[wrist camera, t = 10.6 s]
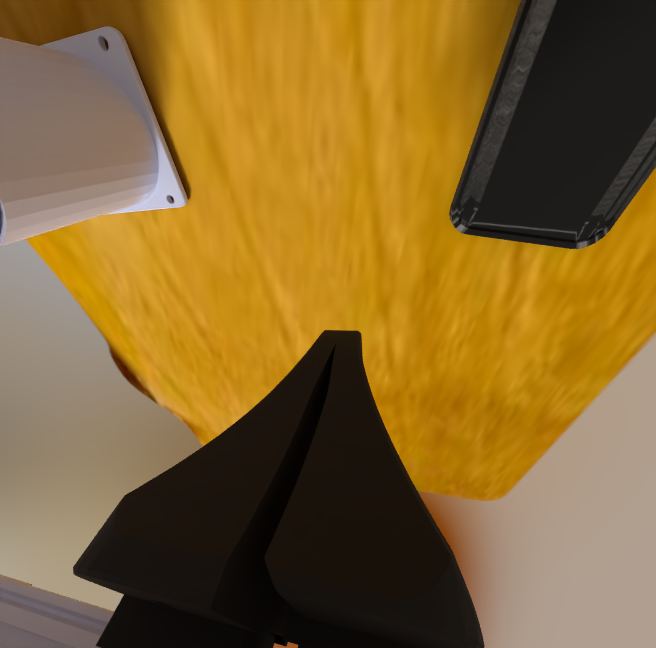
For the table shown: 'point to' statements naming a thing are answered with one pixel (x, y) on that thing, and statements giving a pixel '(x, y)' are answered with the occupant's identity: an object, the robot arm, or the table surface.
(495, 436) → the table surface
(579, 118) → the phone
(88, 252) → the table surface
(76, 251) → the table surface
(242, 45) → the table surface
